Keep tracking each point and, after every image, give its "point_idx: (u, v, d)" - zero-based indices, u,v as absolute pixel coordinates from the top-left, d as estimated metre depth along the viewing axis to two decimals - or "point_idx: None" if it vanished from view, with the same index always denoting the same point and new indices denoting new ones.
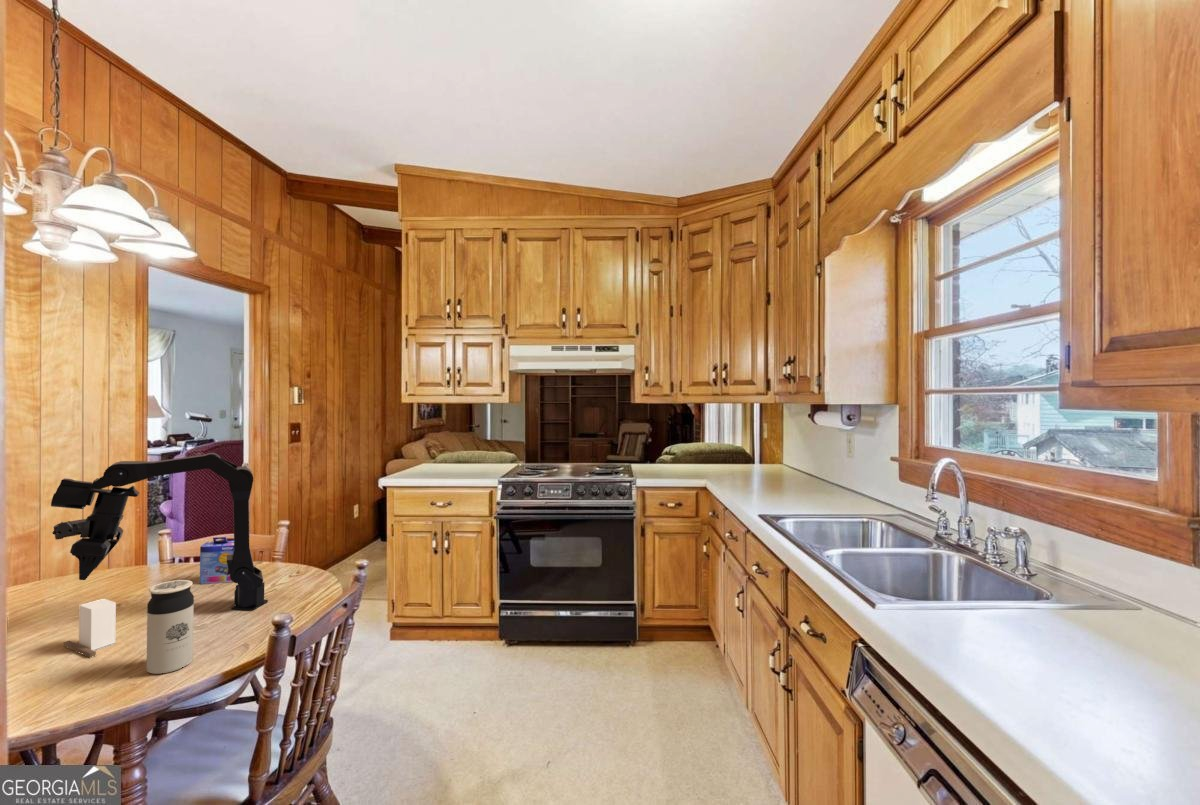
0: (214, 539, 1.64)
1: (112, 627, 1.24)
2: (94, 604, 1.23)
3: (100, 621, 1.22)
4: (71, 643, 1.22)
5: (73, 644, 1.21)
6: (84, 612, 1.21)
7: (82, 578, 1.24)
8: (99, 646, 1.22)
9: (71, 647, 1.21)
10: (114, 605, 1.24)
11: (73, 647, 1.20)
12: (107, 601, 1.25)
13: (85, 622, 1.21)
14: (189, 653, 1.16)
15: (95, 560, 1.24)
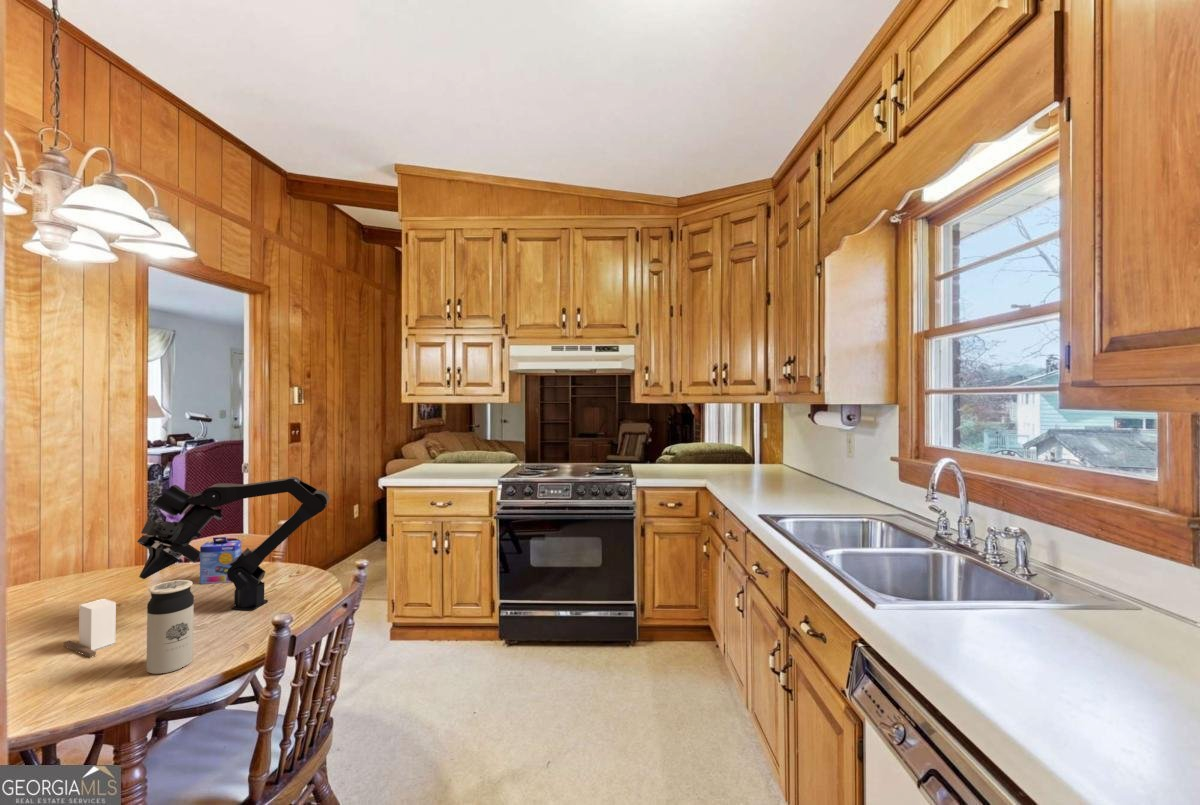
0: (214, 539, 1.64)
1: (112, 627, 1.24)
2: (94, 604, 1.23)
3: (100, 621, 1.22)
4: (71, 643, 1.22)
5: (73, 644, 1.21)
6: (84, 612, 1.21)
7: (143, 576, 1.31)
8: (99, 646, 1.22)
9: (71, 647, 1.21)
10: (114, 605, 1.24)
11: (73, 647, 1.20)
12: (107, 601, 1.25)
13: (85, 622, 1.21)
14: (189, 653, 1.16)
15: (167, 563, 1.34)
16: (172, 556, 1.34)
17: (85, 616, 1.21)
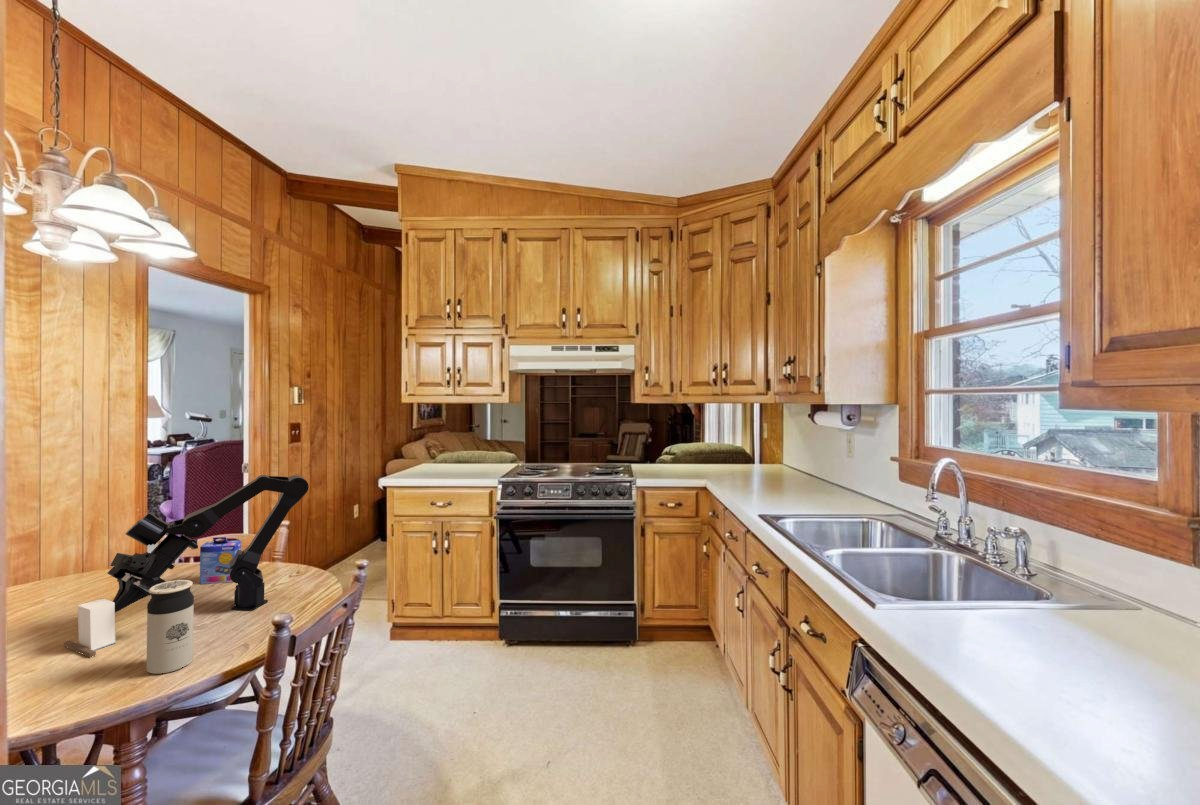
0: (214, 539, 1.64)
1: (111, 627, 1.24)
2: (93, 604, 1.23)
3: (99, 621, 1.21)
4: (71, 643, 1.22)
5: (73, 644, 1.21)
6: (83, 612, 1.21)
7: None
8: (99, 646, 1.22)
9: (71, 647, 1.21)
10: (113, 605, 1.24)
11: (73, 647, 1.20)
12: (106, 601, 1.24)
13: (84, 622, 1.21)
14: (189, 653, 1.16)
15: (137, 596, 1.29)
16: (143, 590, 1.28)
17: (84, 616, 1.21)
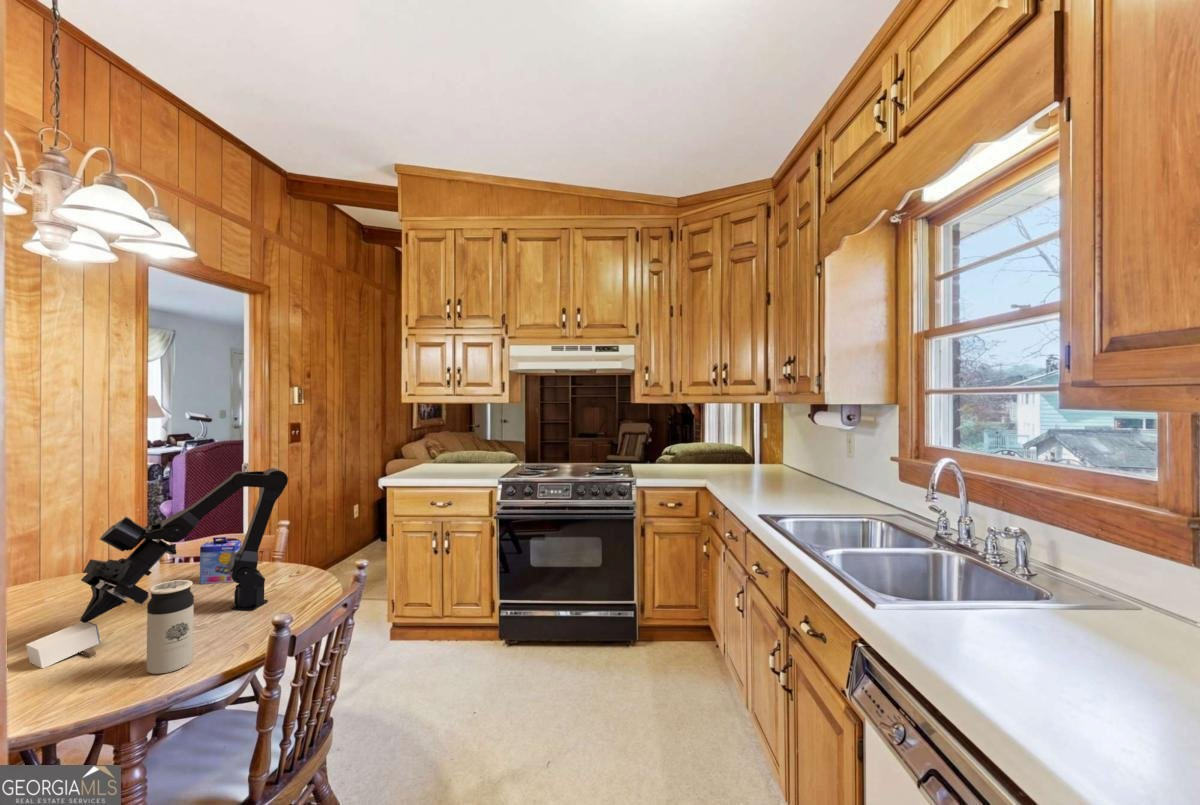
0: (214, 539, 1.64)
1: (74, 637, 1.17)
2: (33, 657, 1.14)
3: (62, 652, 1.16)
4: None
5: None
6: None
7: (85, 620, 1.21)
8: (95, 638, 1.21)
9: None
10: (42, 649, 1.13)
11: None
12: (33, 649, 1.13)
13: None
14: (189, 653, 1.16)
15: (112, 604, 1.24)
16: (117, 597, 1.24)
17: None
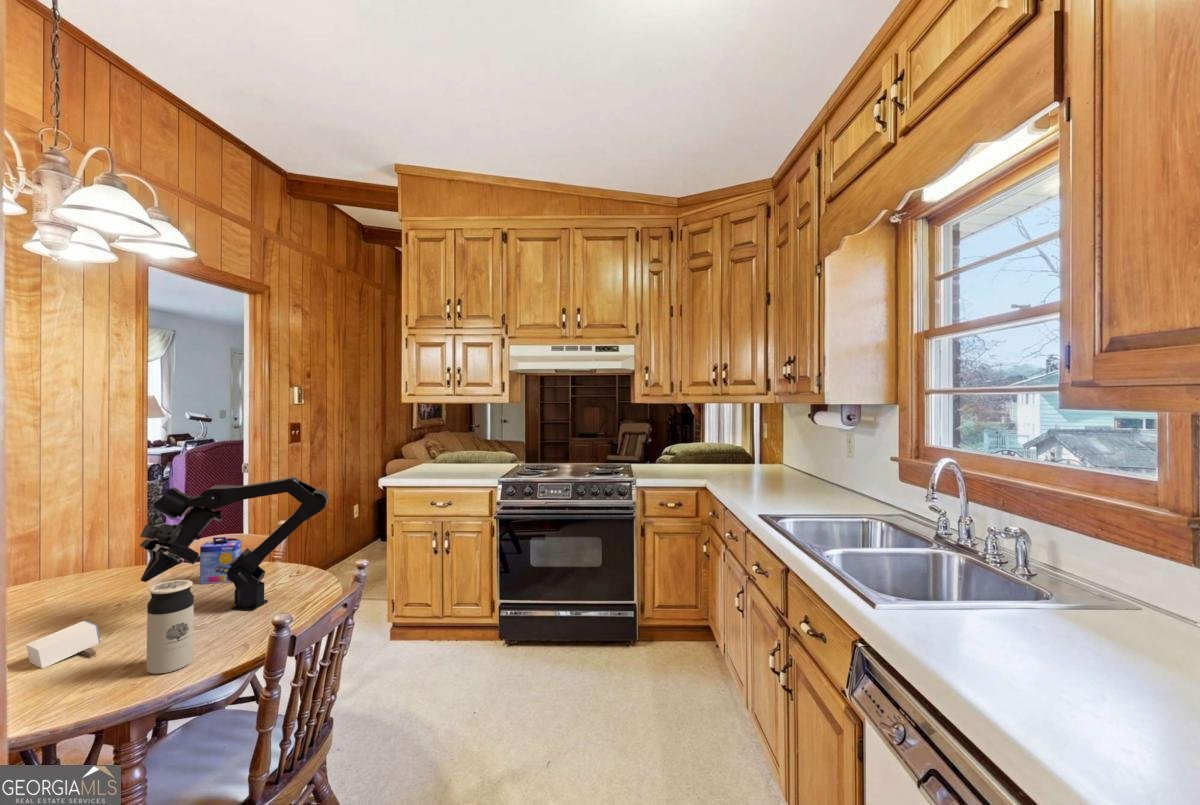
0: (214, 539, 1.64)
1: (74, 637, 1.17)
2: (33, 657, 1.14)
3: (62, 652, 1.16)
4: None
5: None
6: None
7: (145, 579, 1.32)
8: (95, 638, 1.21)
9: None
10: (42, 649, 1.13)
11: None
12: (33, 649, 1.13)
13: None
14: (189, 653, 1.16)
15: (168, 565, 1.35)
16: (172, 558, 1.34)
17: None
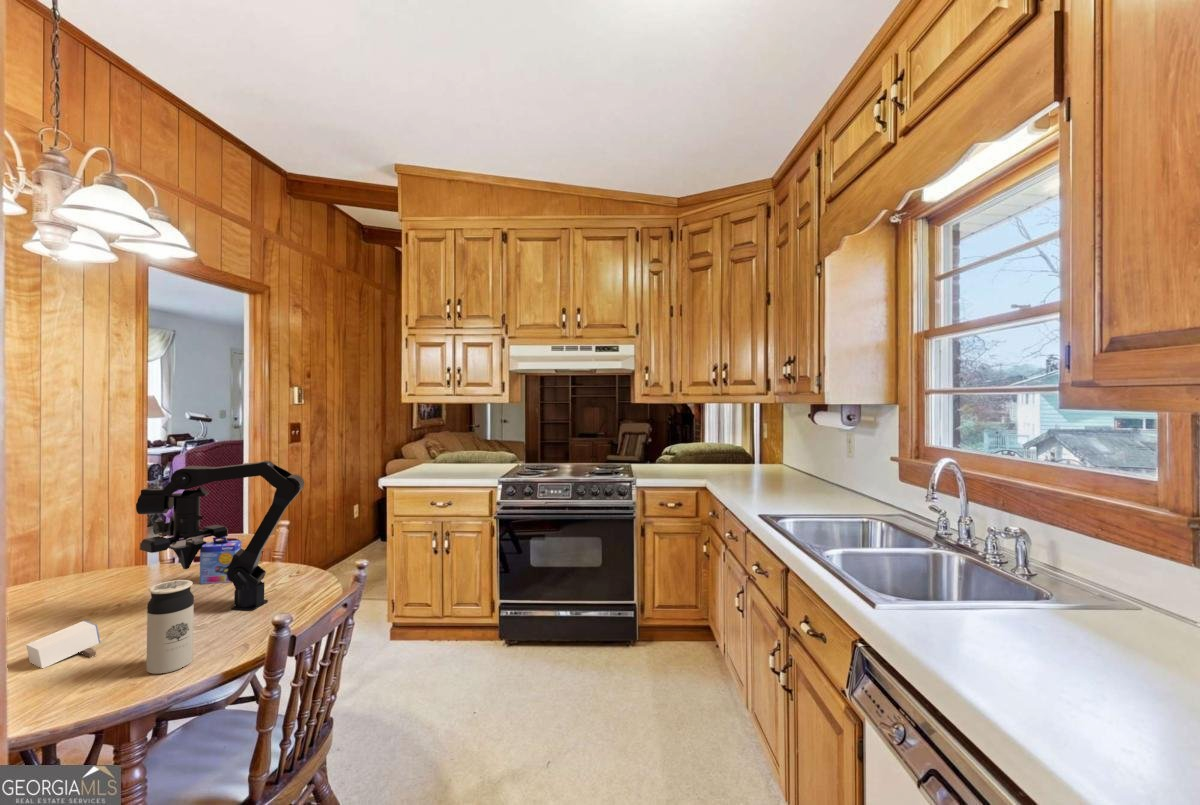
0: (214, 539, 1.64)
1: (74, 637, 1.17)
2: (33, 657, 1.14)
3: (62, 652, 1.16)
4: None
5: None
6: None
7: (184, 567, 1.42)
8: (95, 638, 1.21)
9: None
10: (42, 649, 1.13)
11: None
12: (33, 649, 1.13)
13: None
14: (189, 653, 1.16)
15: (181, 552, 1.40)
16: (171, 547, 1.39)
17: None
